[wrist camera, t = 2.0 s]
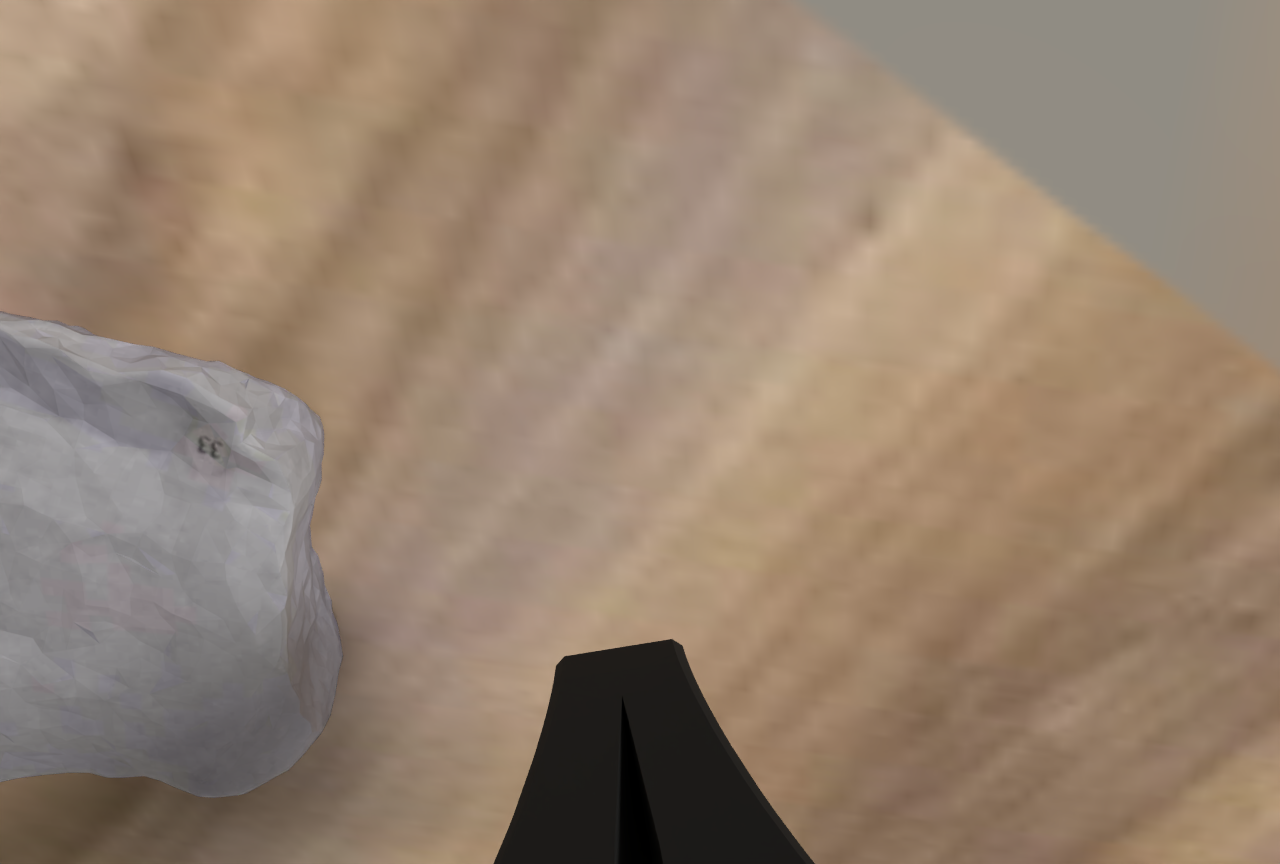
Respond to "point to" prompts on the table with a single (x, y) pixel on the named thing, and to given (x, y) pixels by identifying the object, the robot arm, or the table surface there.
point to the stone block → (156, 566)
